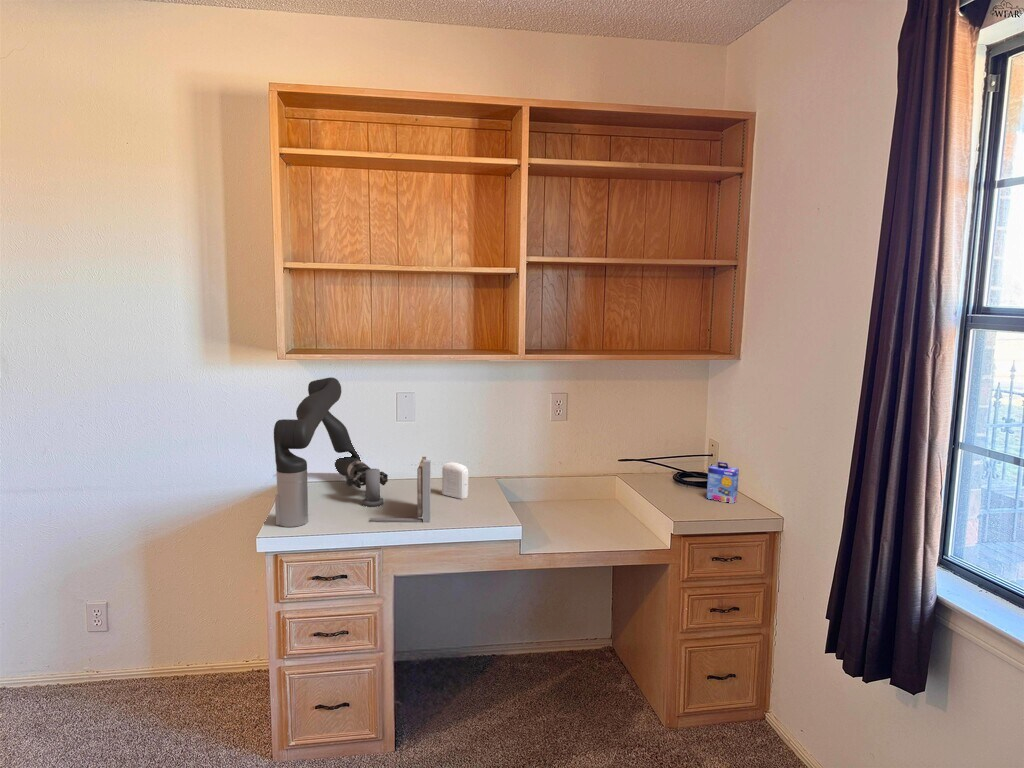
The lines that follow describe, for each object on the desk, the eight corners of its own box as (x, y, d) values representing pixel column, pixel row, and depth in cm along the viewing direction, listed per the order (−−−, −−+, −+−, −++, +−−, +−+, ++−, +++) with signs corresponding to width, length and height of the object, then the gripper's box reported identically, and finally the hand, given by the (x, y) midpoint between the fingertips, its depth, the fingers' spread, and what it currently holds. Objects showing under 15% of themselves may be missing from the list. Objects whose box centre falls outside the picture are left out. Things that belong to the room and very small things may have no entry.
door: (422, 501, 241) (422, 456, 239) (430, 502, 242) (430, 456, 239) (417, 517, 225) (417, 469, 223) (426, 517, 225) (426, 469, 223)
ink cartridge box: (705, 499, 255) (707, 460, 253) (710, 496, 260) (712, 458, 258) (732, 504, 250) (735, 465, 248) (737, 500, 254) (739, 462, 252)
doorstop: (361, 507, 240) (360, 472, 238) (364, 500, 247) (364, 467, 245) (381, 507, 240) (381, 473, 238) (384, 501, 247) (384, 467, 245)
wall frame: (369, 522, 224) (368, 461, 222) (370, 519, 227) (370, 459, 224) (429, 522, 225) (429, 461, 222) (430, 520, 227) (430, 460, 225)
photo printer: (469, 497, 253) (470, 463, 251) (462, 500, 250) (462, 466, 248) (447, 492, 259) (447, 459, 257) (440, 495, 255) (440, 461, 254)
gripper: (340, 464, 254) (351, 475, 239) (378, 461, 260) (391, 471, 246) (340, 484, 255) (351, 496, 240) (378, 480, 261) (391, 492, 247)
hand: (372, 483), depth 243 cm, fingers open, 8 cm apart
